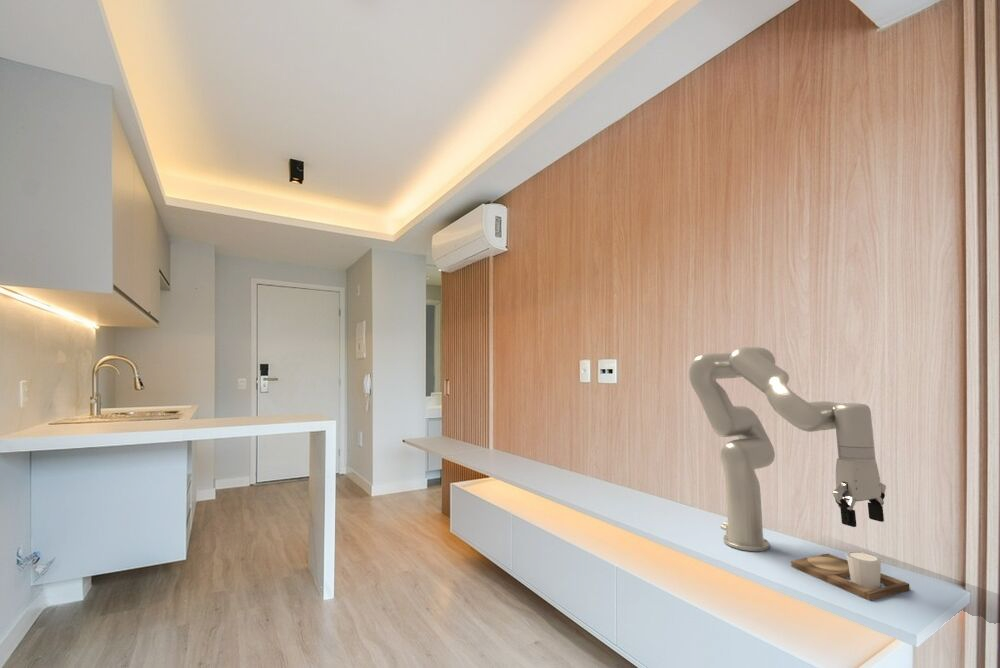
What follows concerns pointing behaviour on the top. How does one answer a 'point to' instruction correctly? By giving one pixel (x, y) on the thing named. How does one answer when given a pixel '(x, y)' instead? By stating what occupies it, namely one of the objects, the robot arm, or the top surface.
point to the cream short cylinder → (864, 569)
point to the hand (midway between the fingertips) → (863, 522)
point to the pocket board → (846, 576)
